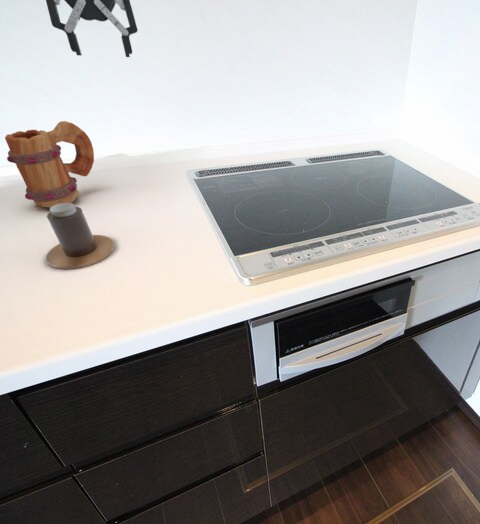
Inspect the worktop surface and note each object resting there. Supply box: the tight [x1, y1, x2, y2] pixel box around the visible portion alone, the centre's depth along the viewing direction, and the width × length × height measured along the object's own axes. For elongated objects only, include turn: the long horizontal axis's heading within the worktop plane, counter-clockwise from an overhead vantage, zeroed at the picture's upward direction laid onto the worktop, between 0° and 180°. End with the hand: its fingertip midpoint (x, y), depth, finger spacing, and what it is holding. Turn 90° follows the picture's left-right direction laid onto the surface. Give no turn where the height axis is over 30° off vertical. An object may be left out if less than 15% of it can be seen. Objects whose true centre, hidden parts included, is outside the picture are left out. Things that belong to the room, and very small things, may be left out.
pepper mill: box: [46, 202, 97, 257], centre depth 59 cm, size 5×5×8 cm
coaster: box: [45, 234, 115, 270], centre depth 62 cm, size 10×10×1 cm
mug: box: [4, 120, 95, 208], centre depth 73 cm, size 15×8×15 cm, turn 148°
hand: (104, 56), depth 74 cm, fingers open, 8 cm apart
